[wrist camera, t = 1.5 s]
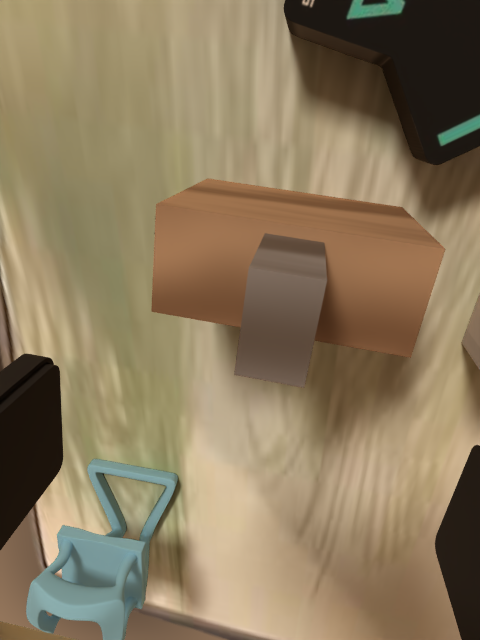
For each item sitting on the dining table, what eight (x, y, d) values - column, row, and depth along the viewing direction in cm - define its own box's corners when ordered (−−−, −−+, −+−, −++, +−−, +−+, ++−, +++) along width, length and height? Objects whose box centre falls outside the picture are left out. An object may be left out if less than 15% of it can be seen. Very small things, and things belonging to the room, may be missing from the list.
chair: (96, 525, 42) (20, 665, 32) (91, 457, 39) (5, 587, 28) (175, 541, 42) (125, 690, 31) (178, 473, 38) (123, 614, 27)
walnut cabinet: (207, 178, 28) (106, 228, 15) (401, 207, 27) (488, 290, 13) (200, 255, 30) (106, 362, 17) (381, 284, 29) (438, 425, 16)
